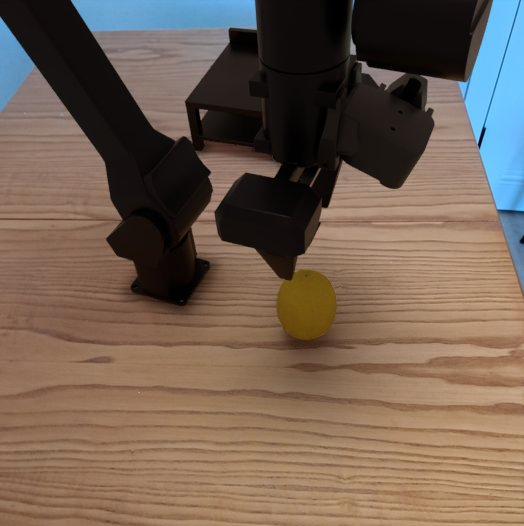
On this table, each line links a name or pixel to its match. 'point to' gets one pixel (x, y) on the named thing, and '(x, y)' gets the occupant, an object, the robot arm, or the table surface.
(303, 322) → the lemon
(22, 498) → the table surface
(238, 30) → the dark coffee table
